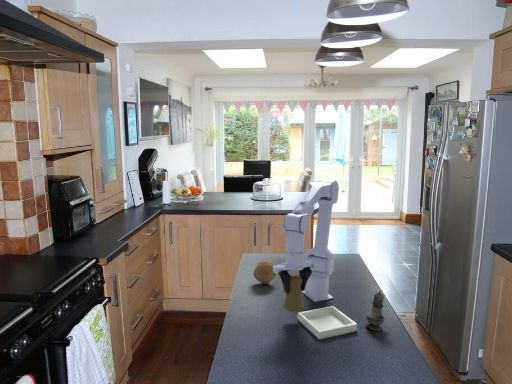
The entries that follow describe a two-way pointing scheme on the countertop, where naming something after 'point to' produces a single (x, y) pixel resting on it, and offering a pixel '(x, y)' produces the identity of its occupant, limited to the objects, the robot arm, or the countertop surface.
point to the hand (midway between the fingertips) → (294, 291)
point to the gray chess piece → (376, 313)
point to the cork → (294, 294)
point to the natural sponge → (264, 272)
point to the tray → (327, 322)
